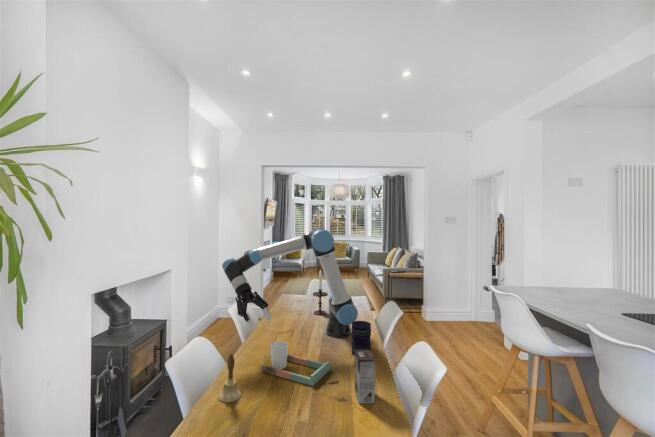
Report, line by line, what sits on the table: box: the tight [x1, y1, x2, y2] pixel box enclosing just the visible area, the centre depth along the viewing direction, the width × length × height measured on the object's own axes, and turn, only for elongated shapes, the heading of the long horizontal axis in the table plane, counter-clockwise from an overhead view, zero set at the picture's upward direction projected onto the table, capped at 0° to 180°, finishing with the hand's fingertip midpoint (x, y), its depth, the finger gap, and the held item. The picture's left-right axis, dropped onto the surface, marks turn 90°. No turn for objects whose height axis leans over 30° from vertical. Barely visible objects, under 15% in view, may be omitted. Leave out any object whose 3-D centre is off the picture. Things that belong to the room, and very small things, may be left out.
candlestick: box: [312, 264, 329, 316], centre depth 226 cm, size 11×11×35 cm
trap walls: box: [275, 355, 308, 380], centre depth 139 cm, size 7×15×2 cm, turn 153°
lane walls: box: [261, 353, 296, 376], centre depth 143 cm, size 8×15×2 cm, turn 153°
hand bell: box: [218, 353, 242, 403], centre depth 118 cm, size 8×8×16 cm
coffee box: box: [354, 350, 376, 405], centre depth 119 cm, size 9×6×16 cm
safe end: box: [289, 358, 331, 387], centre depth 135 cm, size 11×15×4 cm
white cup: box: [270, 340, 289, 370], centre depth 143 cm, size 8×8×10 cm
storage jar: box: [351, 320, 372, 357], centre depth 158 cm, size 10×10×15 cm
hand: (261, 323), depth 150 cm, fingers open, 13 cm apart
